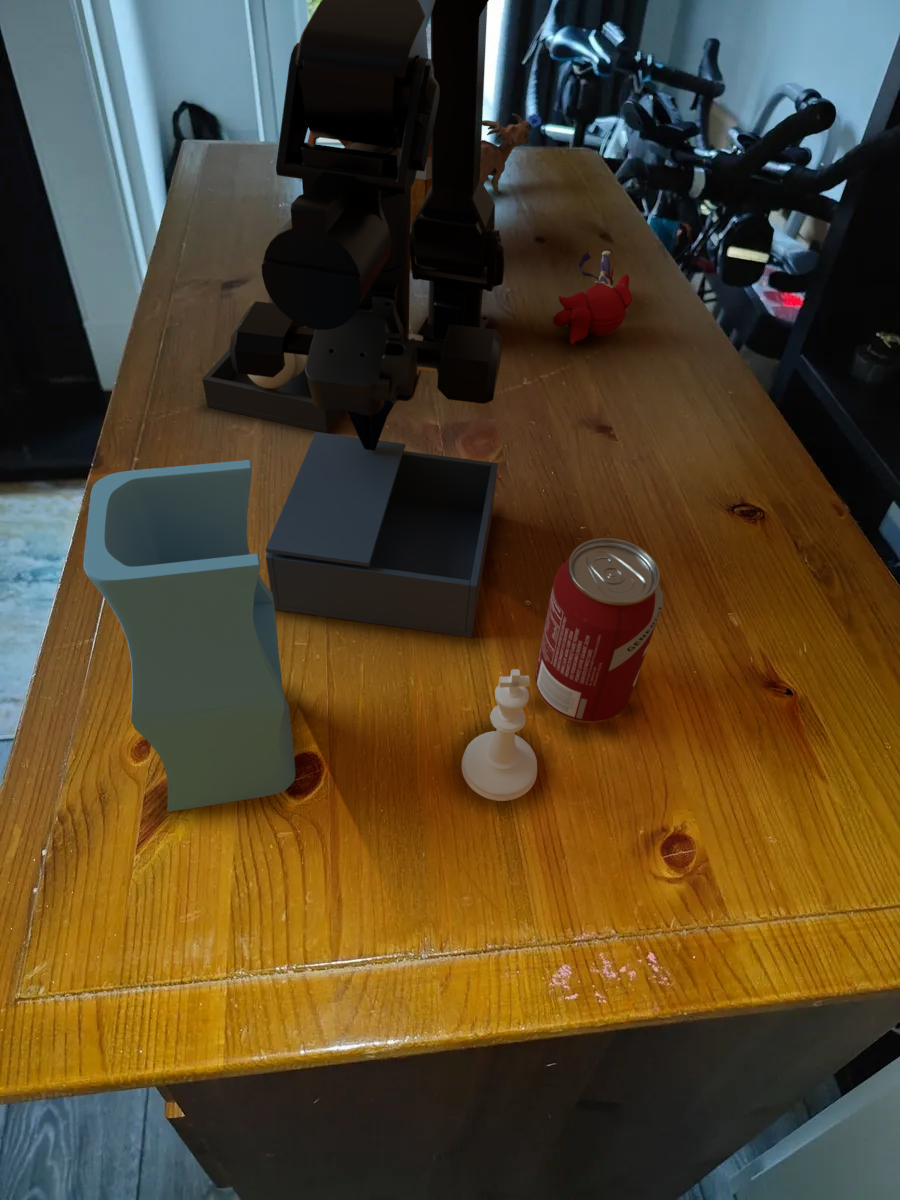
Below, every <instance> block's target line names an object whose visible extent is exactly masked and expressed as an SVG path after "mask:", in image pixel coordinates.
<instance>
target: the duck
mask: <svg viewBox="0 0 900 1200" xmlns="http://www.w3.org/2000/svg"><path fill="white" fill-rule="evenodd" d="M284 358H285V366H284V368H283V370H282V371H280V372H279V373H278V374H277V375H276V376H275V377H273V378H272V377H264V376H256V375H248V376H249V378H250V379H251V380H252V381H253V382H254V383H255V384H257V385H259V386H261V387H263V388H266V389H270V390H275V391H279V387H281V386H283V385H285V384H286V383H287V382H288V381H289V380H290V379H291V378H294V377H296V376H297V375H299V374H300V373H301V372H302V371H304V370H305V366H306V362H307V359H308V355H300V354H291V353H284Z"/></svg>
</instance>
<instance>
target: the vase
mask: <svg viewBox="0 0 900 1200" xmlns="http://www.w3.org/2000/svg"><path fill="white" fill-rule="evenodd" d="M252 470H253V469H252V460H250V459H245V460H243V459H242V460H233V461H221V462H211V463H210V462H209V463H201V464H200V463H199V464H189V465H188V464H187V465H177V466H166V467H155V468H144V469H143V468H142V469H134V470H133V469H132V470H125V471H118V472H113V473H110V474H108V475H105V476H104V477H102V478H100V479H98V480H97V481H96V482H95V483H94V484H93V486H92V488H91V491H90V498H89V505H88V515H87V525H86V534H85V542H84V553H83V570H84V573H85V574H86V576H87V577H88V579H89V580H90V582H91V583H92V584H93V586H94V587H95V588H96V589H97V590H98V592H99V593H100V594H101V596H102V597H103V598H104V600H105V602H106V603H107V604H108V605H109V607H110V609H111V610H112V612H113V613H114V615H115V617H116V618H117V620H118V622H119V624H120V626H121V628H122V632H123V633H124V636H125V638H126V643H127V646H128V652H129V657H130V668H131V704H130V705H131V707H130V721H131V723H132V725H133V728H134V730H135V731H136V732H137V733H138V734H140V735H141V736H142V738H144V740H146V741H147V742H148V744H150V746H151V747H152V748H153V749H154V751H155V752H156V753H157V755H158V756H159V758H160V760H161V763H162V765H163V767H164V772H165V775H166V776H165V777H166V784H167V785H166V786H167V813H170V812H177V811H184V810H189V809H196V808H201V807H208V806H215V805H221V804H227V803H233V802H234V803H235V802H239V801H240V802H241V801H244V800H245V801H246V800H253V799H259V798H264V797H269V796H274V795H277V794H281V793H283V792H285V791H286V790H288V789H289V787H291V786H292V784H293V783H294V781H295V779H296V762H295V752H294V744H293V735H292V734H293V733H292V723H291V714H290V713H291V712H290V707H289V703H288V701H287V699H286V696H285V694H284V688H283V687H284V686H283V680H282V668H281V659H280V648H279V640H278V630H277V629H278V628H277V618H276V610H275V607H274V600H273V593H272V592H271V589H270V588H269V587H268V586H267V584H266V583H265V582H264V580H263V579H262V577H261V575H260V572H261V559H260V554H259V553H251V552H250V547H249V545H248V544H249V543H248V542H249V541H248V514H249V513H248V510H249V502H250V501H249V499H250V492H251V483H252Z"/></svg>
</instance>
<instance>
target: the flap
mask: <svg viewBox="0 0 900 1200" xmlns="http://www.w3.org/2000/svg"><path fill="white" fill-rule="evenodd" d="M405 449H406V444H405V443H402V442H395V441H389V440H387V441H386V440H380V439H379V441H378V443H377V446H376V449H375V451H372V450H365V449H364V447H363V445H362V443H361V441H360V439H359V437H356V436H351V435H350V436H349V435H343V434H336V433H335V434H334V433H329V432H328V433H325V432H320V431H315V432H314V434H313V437H312V439H311V442H310V443H309V446H308V449H307V451H306V453H305V455H304V458H303V460H302V462H301V465H300V467H299V470H298V472H297V474H296V477H295V478H294V481H293V484H292V485H291V488H290V491H289V493H288V495H287V497H286V500H285V502H284V505H283V507H282V509H281V512H280V514H279V517H278V519H277V521H276V522H275V525H274V527H273V530H272V533H271V535H270V538H269V539H268V541H267V545H266V547H265V553H275V554H282V555H289V556H296V557H303V558H310V559H317V560H324V561H331V562H338V563H345V564H352V565H359V566H366V567H369V566H370V563H371V560H372V556H373V553H374V550H375V546H376V543H377V540H378V536H379V533H380V530H381V526H382V523H383V520H384V516H385V513H386V509H387V506H388V503H389V499H390V496H391V493H392V489H393V486H394V483H395V479H396V476H397V473H398V469H399V466H400V463H401V459H402V456H403V453H404V451H405Z"/></svg>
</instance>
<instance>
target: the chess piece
mask: <svg viewBox="0 0 900 1200" xmlns="http://www.w3.org/2000/svg"><path fill="white" fill-rule="evenodd" d="M530 682H531V681H530V676H529V675H521V672H520V668H517V669H516V668H515V669H511V670H510V676H498V684H497V686H496V688H495V689H494V698H495V702H496V704H497V705H495V706H494V707H493V709H492V710H491V712H490V715H489V720H490V723H491V725H492V726H493V727H494V729H496V730H491V731H487V732H484V733H481V734H479V735H477V736H476V737H474V738H473V739H472V740H471V741H470V742H469V743H468V745H467V746H466V749H465V750H464V753H463V755H462V759H461V773H462V776H463V779H464V780H465V782H466V784H467V785H468V786H469V788H470V789H471V790H473V791H474V793H476V794H478V795H479V796H481V797H483V798H484V799H485V798H486V799H488V800H492V801H495V802H496V801H497V802H506V801H513V800H516V799H518V798H521V797H523V796H524V795H526V794H527V793H528V792H529V791H530V790H531V789H532V788H533V786H534V784H535V783H536V780H537V776H538V760H537V756H536V753H535V751H534V749H533V748H532V747H531V745H530V744H529V743H528V742H527V741H526V740H525V739H523V738H522V737H521V736H519V735H517V734H516V733H517V732H519V731H521V730H522V729H523V728H524V727H525V725H526V721H527V720H526V714H525V712H524V711H525V710H524V708H525V707H526V705H527V703H528V702H529V700H530V692H529V690H528V687H530Z"/></svg>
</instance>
